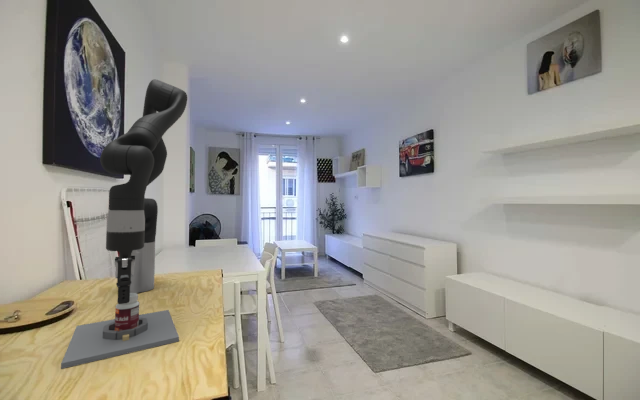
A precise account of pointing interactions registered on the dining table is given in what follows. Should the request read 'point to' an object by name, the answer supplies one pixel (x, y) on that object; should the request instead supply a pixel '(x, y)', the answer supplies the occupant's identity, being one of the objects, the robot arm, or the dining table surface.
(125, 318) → the pill bottle
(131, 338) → the socket
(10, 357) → the dining table surface
